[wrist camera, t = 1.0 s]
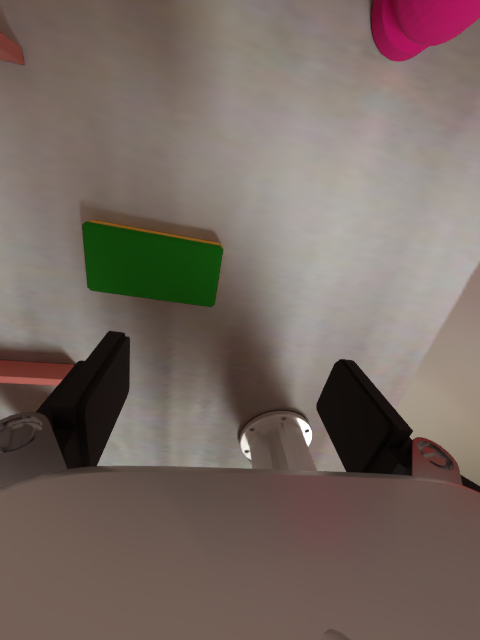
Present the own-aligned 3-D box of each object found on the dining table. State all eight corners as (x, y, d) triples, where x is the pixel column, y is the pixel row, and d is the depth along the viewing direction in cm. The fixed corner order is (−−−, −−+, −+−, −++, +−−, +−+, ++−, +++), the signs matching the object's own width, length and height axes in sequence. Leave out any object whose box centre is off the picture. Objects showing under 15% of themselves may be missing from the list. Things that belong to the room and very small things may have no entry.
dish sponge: (92, 219, 26) (81, 221, 23) (223, 242, 28) (223, 246, 26) (96, 283, 29) (87, 290, 27) (214, 300, 31) (214, 307, 29)
